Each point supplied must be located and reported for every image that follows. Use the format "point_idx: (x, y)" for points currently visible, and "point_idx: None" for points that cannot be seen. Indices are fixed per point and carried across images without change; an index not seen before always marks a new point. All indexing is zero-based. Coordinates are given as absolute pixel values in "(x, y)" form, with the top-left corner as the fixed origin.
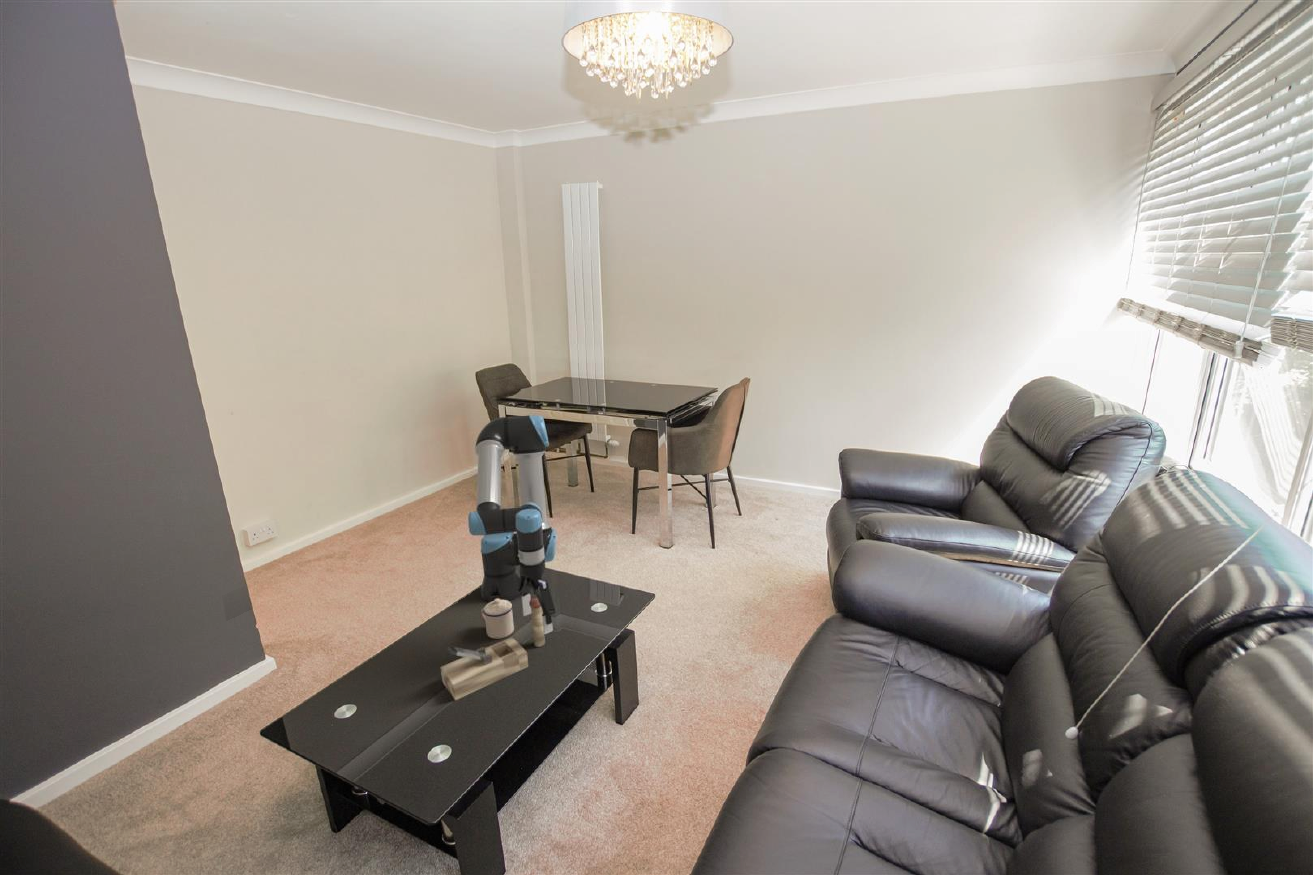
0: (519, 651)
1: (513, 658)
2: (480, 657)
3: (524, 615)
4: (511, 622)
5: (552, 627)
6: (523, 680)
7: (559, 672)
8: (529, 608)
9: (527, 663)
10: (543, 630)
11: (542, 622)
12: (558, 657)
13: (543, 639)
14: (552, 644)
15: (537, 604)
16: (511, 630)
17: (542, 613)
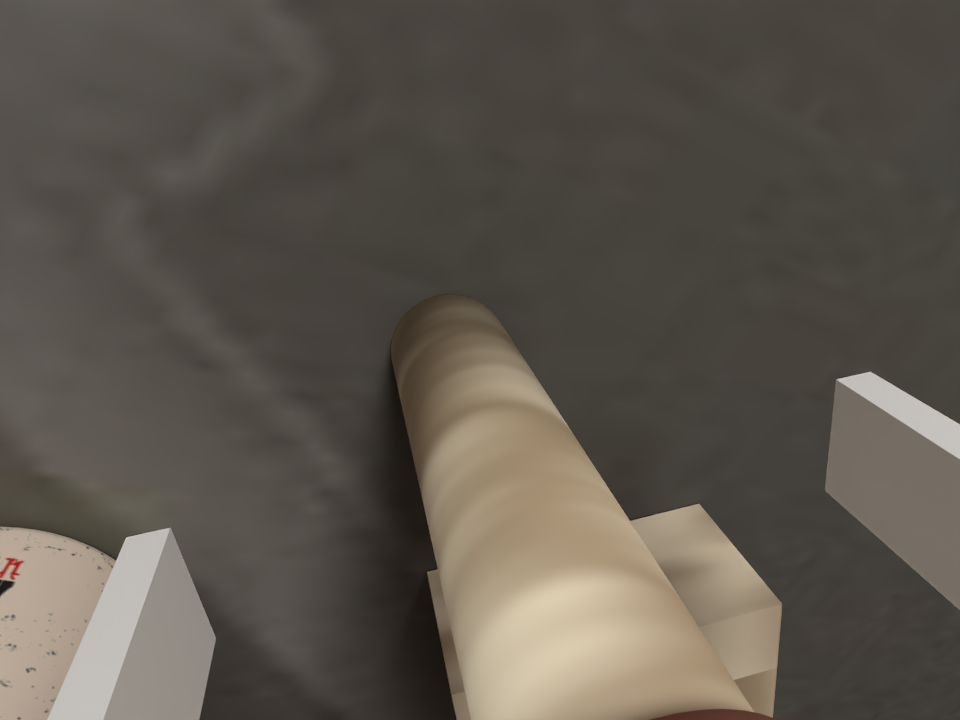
0: (727, 655)
1: (771, 697)
2: None
3: (212, 640)
4: (54, 641)
5: (912, 400)
6: (809, 555)
7: (930, 312)
8: (159, 639)
9: (714, 526)
10: (534, 380)
11: (582, 452)
12: (763, 253)
13: (512, 342)
14: (537, 235)
15: None
16: (101, 576)
17: (608, 526)
